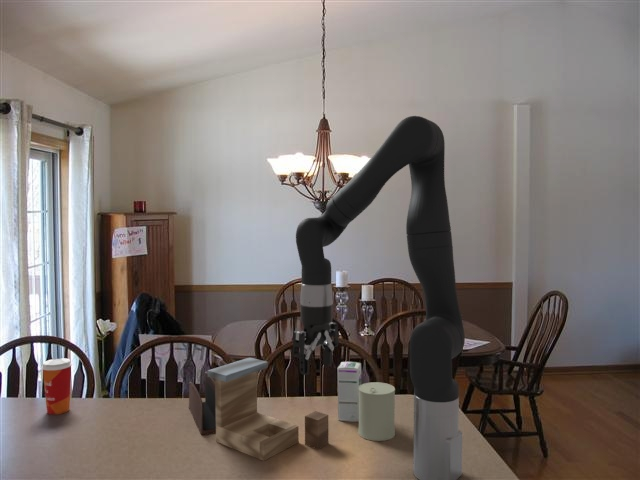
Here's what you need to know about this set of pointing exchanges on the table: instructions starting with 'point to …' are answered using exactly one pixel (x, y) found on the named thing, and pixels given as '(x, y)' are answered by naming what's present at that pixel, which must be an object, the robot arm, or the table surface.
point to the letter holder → (204, 405)
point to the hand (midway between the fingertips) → (316, 369)
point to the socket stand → (247, 412)
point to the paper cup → (57, 385)
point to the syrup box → (348, 391)
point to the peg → (316, 429)
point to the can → (376, 411)
